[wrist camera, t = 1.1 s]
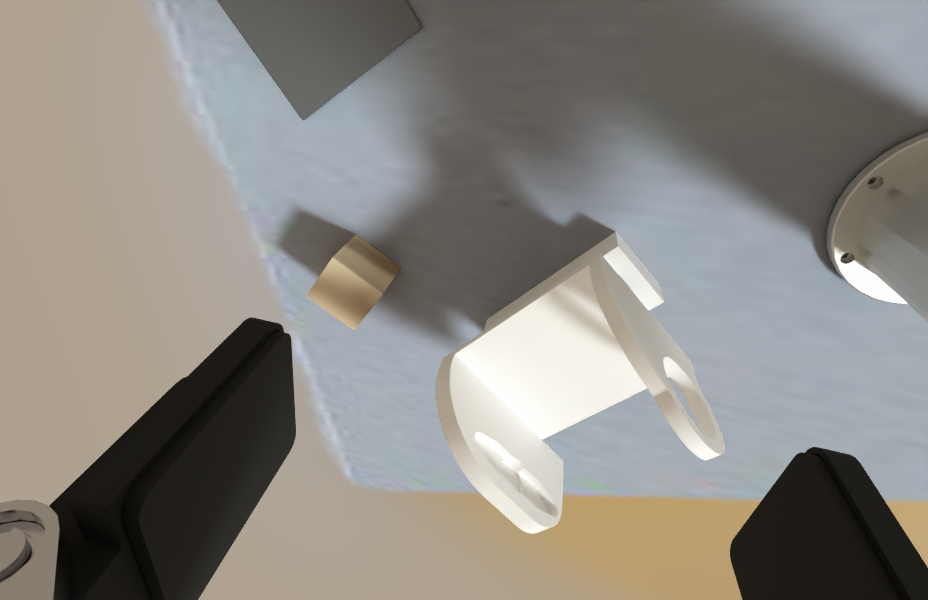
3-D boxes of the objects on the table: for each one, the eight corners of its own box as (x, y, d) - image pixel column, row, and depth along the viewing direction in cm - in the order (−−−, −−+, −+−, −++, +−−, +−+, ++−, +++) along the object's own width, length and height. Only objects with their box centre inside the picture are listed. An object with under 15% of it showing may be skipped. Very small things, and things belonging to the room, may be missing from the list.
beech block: (356, 233, 44) (332, 257, 40) (401, 267, 45) (382, 294, 41) (330, 270, 46) (306, 296, 42) (374, 302, 47) (353, 330, 43)
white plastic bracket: (596, 204, 38) (607, 333, 23) (688, 318, 42) (751, 496, 26) (466, 299, 45) (408, 447, 30) (554, 391, 48) (543, 566, 33)
